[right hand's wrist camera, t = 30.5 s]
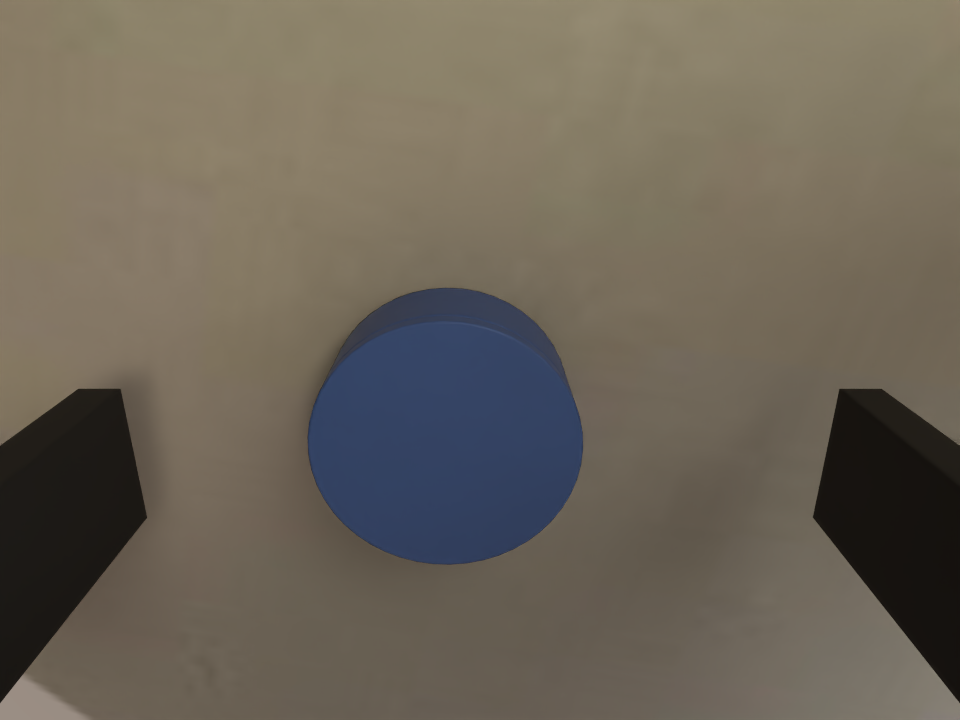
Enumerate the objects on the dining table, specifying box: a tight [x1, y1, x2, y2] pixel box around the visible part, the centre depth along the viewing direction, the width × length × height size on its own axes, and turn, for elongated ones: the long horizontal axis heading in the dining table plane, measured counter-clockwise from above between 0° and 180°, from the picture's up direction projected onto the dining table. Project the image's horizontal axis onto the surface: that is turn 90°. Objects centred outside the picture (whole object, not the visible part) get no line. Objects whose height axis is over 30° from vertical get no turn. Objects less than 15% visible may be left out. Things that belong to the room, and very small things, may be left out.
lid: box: [308, 288, 583, 564], centre depth 13 cm, size 5×5×2 cm
